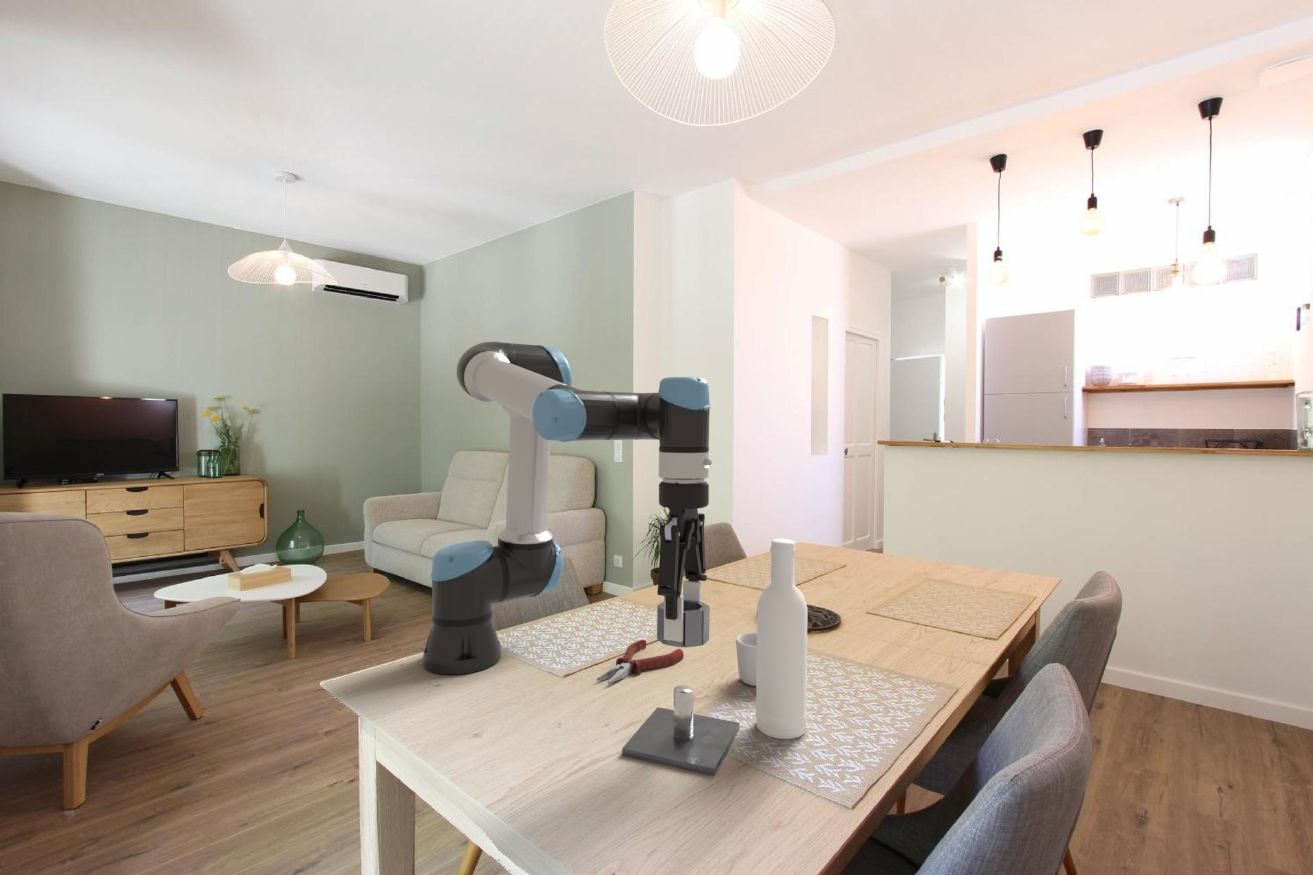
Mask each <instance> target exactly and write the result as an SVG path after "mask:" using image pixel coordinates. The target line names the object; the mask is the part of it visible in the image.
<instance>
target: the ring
mask: <svg viewBox="0 0 1313 875" xmlns="http://www.w3.org/2000/svg"><path fill="white" fill-rule="evenodd" d="M710 608H711V607H710V605H708V604H706V603H705V602H703V601H701V602H700V601H693V600H683V641H682V642H678V641H671V640H664V601H662V602H661V603H658V604H657V607H656V609H657V611H656V613H657V616H656V617H657V618H656V622H657V624H656V640H657V641H659V642H660V643H662V645H666V646H669V647H677V648H685V649H686V648H692V647H694V648H695V647H701V646H704V645H706V644H707V643H708V641H710Z"/></svg>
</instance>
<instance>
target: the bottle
mask: <svg viewBox="0 0 1313 875" xmlns="http://www.w3.org/2000/svg"><path fill="white" fill-rule="evenodd" d="M770 543H771V546H770V548H769V549H770V550H769V551H770V554H771V555H770V584H769V585H768V586H767V587H765V588H764V589H763V590H762V592H761V593H760V596H759V598H758V601H757V608H756V609H757V610H756V611H757V616H756V618H757V619H756V620H757V622H756V623H757V625H756V628H757V629H756V633H757V686H756V705H755V720H756V722H755V723H756V728H757V729H758V730H759V732H760V733H761V734H763V735H765V736H767V737H769V738H773V739H777V740H794V739H798V738H800V737H801V736H803V735H804V734H805V733H806V730H807V720H808V719H807V717H808V712H807V681H808V679H807V678H808V677H807V669H808V668H807V666H808V661H807V660H808V659H807V658H808V606H807V601H806V598H805V596H804V594H803V592H802V591H800V590H801V589H799V588H798V587H797V586H796V585H795V554H796V547H795V546H796V543H795V541H794V540H791V539H787V538H775V539H773V540H772V541H771V542H770Z"/></svg>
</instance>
